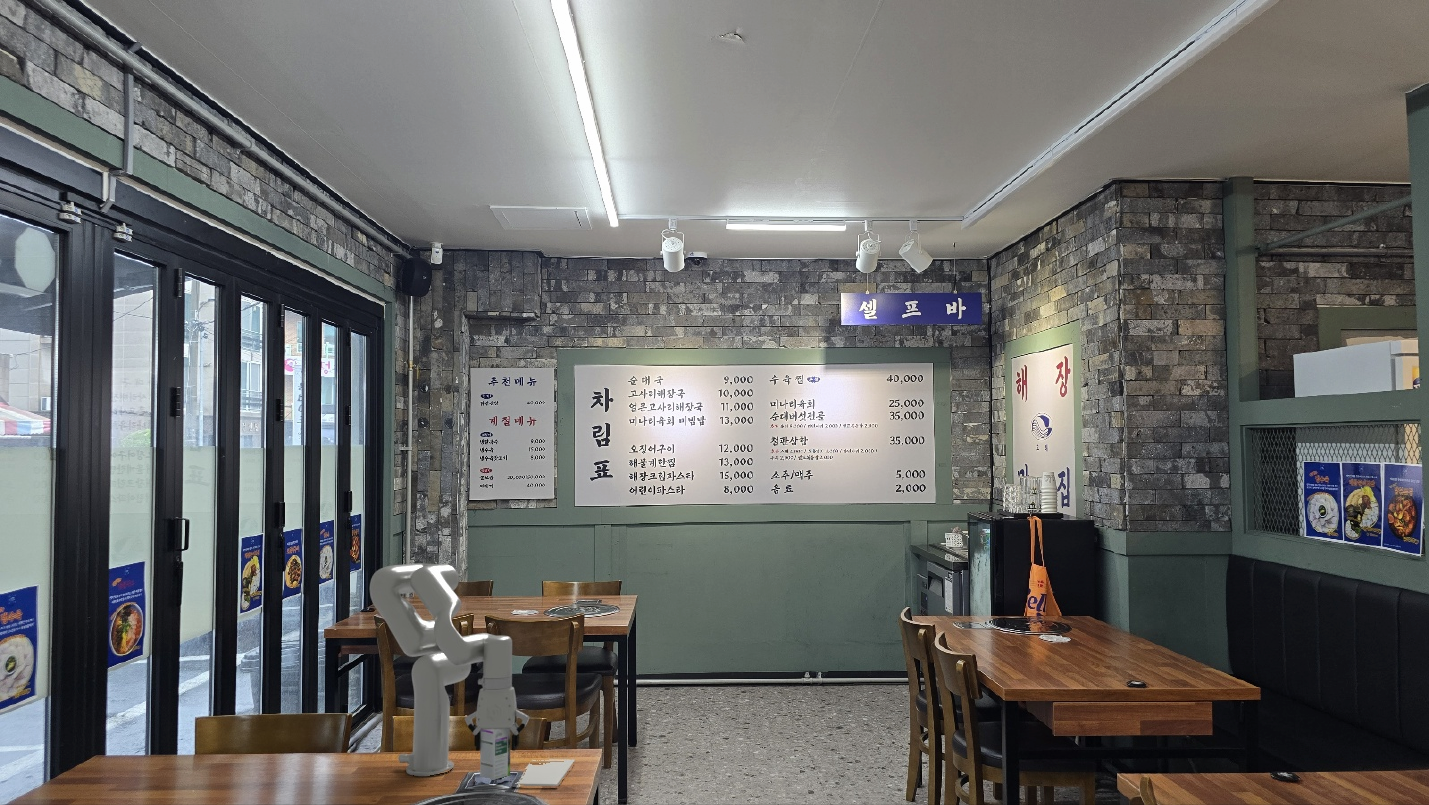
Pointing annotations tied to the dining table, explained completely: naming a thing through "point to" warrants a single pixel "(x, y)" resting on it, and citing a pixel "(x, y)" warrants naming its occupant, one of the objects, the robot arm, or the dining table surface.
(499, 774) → the syrup box
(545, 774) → the cutting board
